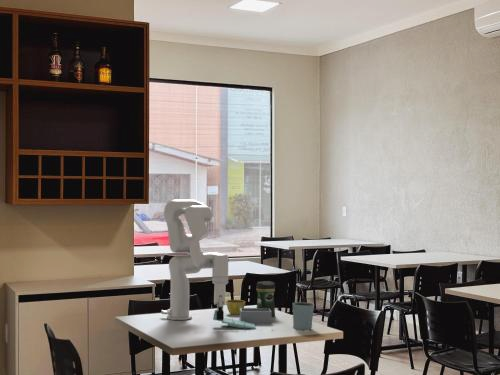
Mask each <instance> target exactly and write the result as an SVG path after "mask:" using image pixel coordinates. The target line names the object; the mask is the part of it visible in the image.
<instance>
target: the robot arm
mask: <svg viewBox="0 0 500 375" xmlns="http://www.w3.org/2000/svg"><path fill="white" fill-rule="evenodd" d="M163 215H164V221H165V223H166V227H167V234H168V244H169V249H170V251H171V252H172V253H174V254H182V255H176V256H172V258H171V259H169V262H168V269H169V275H170V296H169V297H170V298H169V299H170V301H169V302H170V306H169V308H168V309H166V310H163V309H161V315H167V316H166V318H167V320H170V321H171V320H173V321H186V320H190V319H192V318H193V315H191V314H190V280H189V278H188V277H187V275H189V274H191V275H192V274H199V273H200V271H201V270H203V269H204V270H205V269H212V270H211V271H212V274H211V276H212V284H214V286H213V287H214V288H213V289H214V290H213V291H214V292H213V305H215V306H216V310H217V320H223V319H224V318H225V317H224V315H225V314H224V313H225V312H224V305H225V304H226V290H227V289H226V286H227V285H228V284H229V255H228V254H226V253H219V252H215V251H213V252H202V250H201V246H200V241H201V240H203V239H205V238H207V237H208V235H209V233H210V232H209V228H208V226H207V223H208V222H210V221H211V220H212V218H213V212H212V209H211V208H210V207H209V206H208V205H206V204H205V203H203V202H200V201H198V200H196V199H172V200H169V201H168V202H166V204H165V206H164V209H163ZM180 217H185V220H186V223H187V226H188V229H189V231H190V233H186V231H185V224H184V223H183V220H182V219H181V218H180ZM183 254H184V255H183ZM186 254H187V255H186ZM226 284H227V285H226ZM218 310H219V311H218ZM217 320H216V321H217Z"/></svg>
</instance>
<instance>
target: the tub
mask: <svg viewBox="0 0 500 375" xmlns="http://www.w3.org/2000/svg"><path fill="white" fill-rule="evenodd" d="M272 318H273V317H272V311H271V310H270V308H257V307H244V308H240V315H239V321H244V322H249V323H254V325H258V324H259V325H262V324H263V325H265V324H266V325H270V324H271V325H272Z"/></svg>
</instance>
